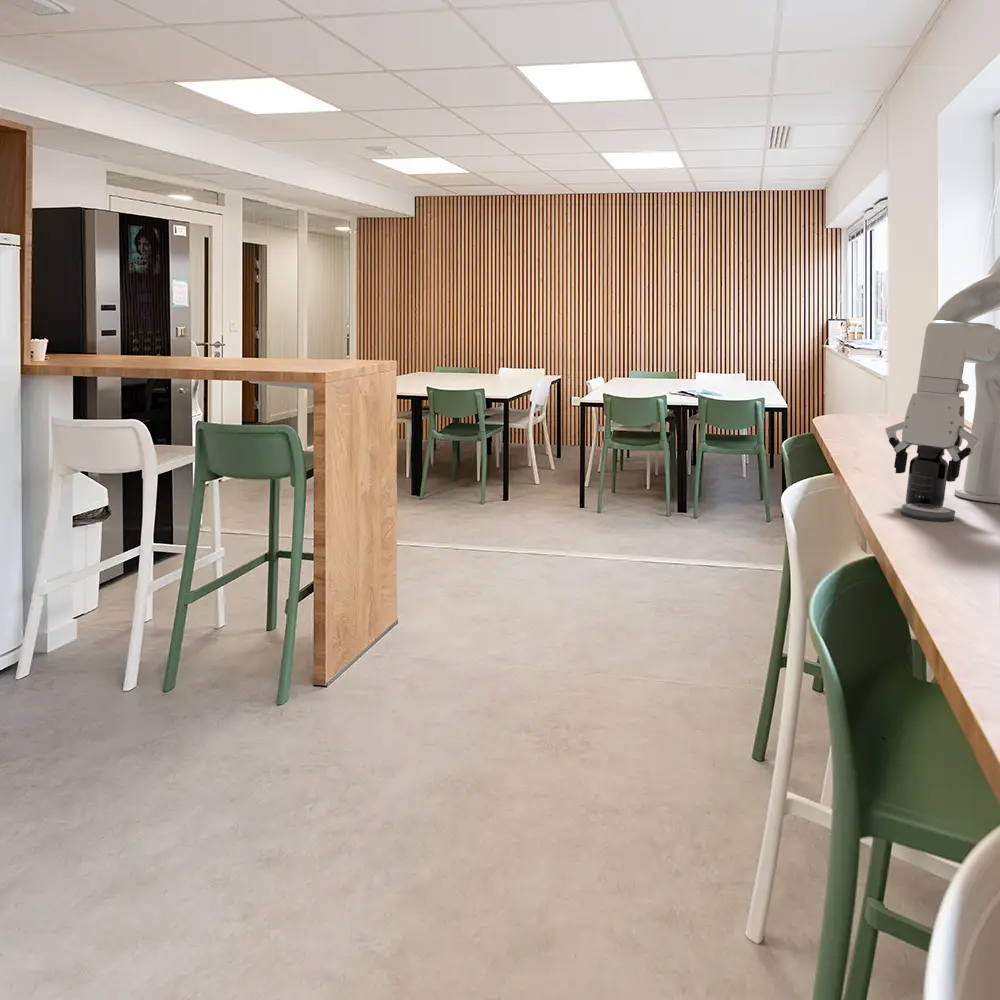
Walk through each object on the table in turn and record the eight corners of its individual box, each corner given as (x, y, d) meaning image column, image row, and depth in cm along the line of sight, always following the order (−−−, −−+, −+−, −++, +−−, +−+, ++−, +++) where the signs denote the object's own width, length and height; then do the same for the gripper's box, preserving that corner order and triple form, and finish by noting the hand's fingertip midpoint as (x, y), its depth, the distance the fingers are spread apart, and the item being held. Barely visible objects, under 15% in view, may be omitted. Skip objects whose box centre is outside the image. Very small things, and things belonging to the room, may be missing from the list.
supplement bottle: (911, 500, 201) (919, 440, 198) (947, 506, 196) (955, 445, 194) (899, 505, 195) (907, 443, 193) (936, 511, 191) (945, 448, 189)
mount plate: (912, 509, 192) (913, 500, 192) (961, 517, 186) (962, 509, 186) (893, 514, 186) (894, 506, 185) (943, 523, 180) (944, 515, 179)
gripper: (993, 392, 188) (978, 483, 191) (901, 383, 200) (888, 468, 203) (979, 392, 183) (964, 485, 186) (885, 382, 194) (873, 471, 197)
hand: (925, 476), depth 194 cm, fingers open, 9 cm apart
